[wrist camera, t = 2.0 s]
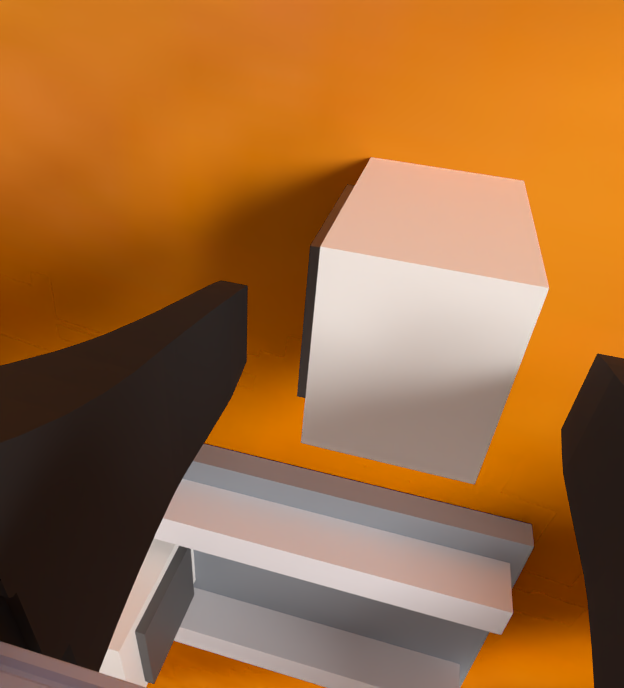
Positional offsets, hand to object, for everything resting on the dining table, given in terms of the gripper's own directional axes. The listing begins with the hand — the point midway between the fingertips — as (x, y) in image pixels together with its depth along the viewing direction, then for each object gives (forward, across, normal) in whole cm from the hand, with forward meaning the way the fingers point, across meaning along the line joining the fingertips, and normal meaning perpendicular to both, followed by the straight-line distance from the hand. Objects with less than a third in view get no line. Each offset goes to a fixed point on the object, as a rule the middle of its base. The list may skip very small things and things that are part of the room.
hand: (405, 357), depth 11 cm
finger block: (+5, 0, 0) cm, 5 cm away
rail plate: (+5, +3, +16) cm, 17 cm away
